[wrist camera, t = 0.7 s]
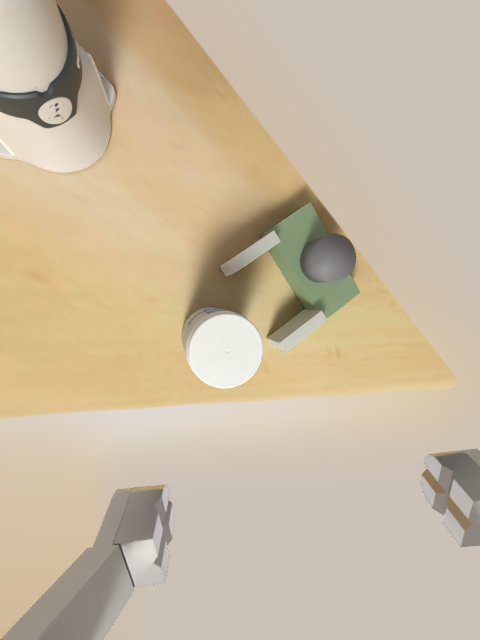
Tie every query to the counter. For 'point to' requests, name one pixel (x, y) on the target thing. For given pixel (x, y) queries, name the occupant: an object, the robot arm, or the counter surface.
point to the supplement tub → (221, 347)
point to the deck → (291, 268)
